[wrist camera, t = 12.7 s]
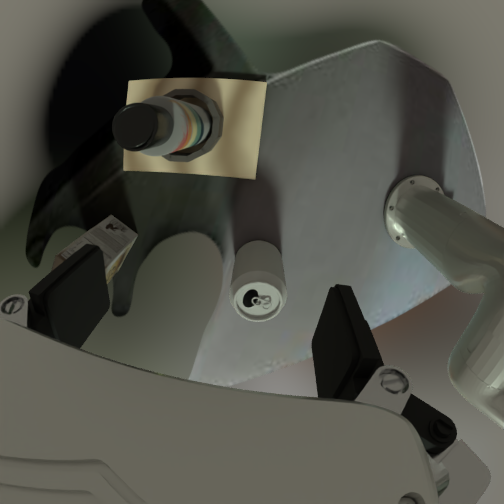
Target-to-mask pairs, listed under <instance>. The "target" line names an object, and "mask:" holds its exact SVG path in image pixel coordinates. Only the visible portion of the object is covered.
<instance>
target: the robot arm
mask: <svg viewBox="0 0 504 504" xmlns="http://www.w3.org/2000/svg"><path fill="white" fill-rule="evenodd" d="M410 181H411V182H410ZM389 207H390V208H389ZM384 222H385V227H386V230H387V232H388V234H389V235H390V237H391V238H392V239H393V240H394V241H395V242H396V243H397V244H399V245H400V246H402V247H405V248H416V249H417V250H418V251H419V252H420V253H421V254H422V255H423V256H424V257H425V258H426V259H427V260H428V261H429V262H430V263H431V264H432V265H433V266H434V267H435V268H436V269H437V270H438V271H439V272H440V273H441V274H442V275H443V276H444V277H445V278H446V279H447V280H448V281H449V282H450V283H451V284H452V285H453V286H454V287H455V288H457V289H458V290H460V291H462V292H465V293H469V294H470V293H471V294H478V293H484V296H483V298H482V300H481V302H480V304H479V306H478V309H477V311H476V313H475V314H474V316H473V318H472V320H471V321H470V323H469V325H468V326H467V328H466V329H465V331H464V333H463V334H462V336H461V338H460V339H459V341H458V342H457V344H456V346H455V347H454V349H453V351H452V353H451V355H450V357H449V360H448V375H449V378H450V380H451V382H452V384H453V386H454V387H455V388H456V390H457V391H458V392H459V393H460V394H461V395H462V396H463V397H464V398H465V399H466V400H467V401H468V402H469V403H471V404H472V405H473V406H474V407H476V408H477V409H478V410H480V411H481V412H482V413H483V414H485V415H486V416H487V417H488V418H490V419H491V420H492V421H493V422H495V423H496V424H497V425H498V426H500V427H501V428H502V429H503V430H504V228H503V227H501V226H499V225H498V224H496V223H494V222H492V221H491V220H489V219H487V218H486V217H484V216H482V215H480V214H478V213H477V212H475V211H473V210H471V209H469V208H468V207H466V206H464V205H462V204H460V203H458V202H457V201H455V200H453V199H451V198H449V197H447V196H445V195H444V192H443V191H442V189H441V187H440V186H439V185H438V183H437V182H435V181H434V180H433V179H431V178H429V177H426V176H423V175H413V176H409V177H407V178H405V179H403V180H402V181H400V182H399V183H398V184H397V185H396V186H395V187H394V188H393V190H392V191H391V193H390V194H389V196H388V199H387V201H386V205H385V210H384ZM29 294H30V298H31V299H30V300H29V301H28V299H27V298H26V297H25V296H23V295H20V294H16V295H12V296H9V297H7V298H5V299H4V300H2V301H1V303H0V504H476V503H477V501H478V500H479V499H480V497H481V496H482V495H483V493H484V492H485V490H486V489H487V487H488V485H489V483H490V479H491V475H490V471H489V469H488V468H487V466H486V465H485V464H484V463H483V462H482V461H481V460H480V458H479V457H478V456H477V455H476V454H475V453H474V452H473V451H472V450H471V449H470V448H469V447H468V446H467V444H466V443H465V442H463V440H462V439H461V440H460V441H458V440H457V439H456V436H457V430H456V427H455V424H454V423H453V421H452V420H451V419H450V418H449V417H447V416H446V415H444V414H442V413H441V412H439V411H438V410H436V409H435V408H433V407H431V406H430V405H428V404H427V403H425V402H424V401H422V400H420V399H419V398H417V397H416V396H414V395H413V394H411V392H412V388H413V384H412V380H411V378H410V376H409V375H408V374H407V373H406V372H405V371H403V370H402V369H401V368H398V367H396V366H391V365H385V366H384V363H383V361H382V358H381V355H380V353H379V350H378V347H377V345H376V342H375V340H374V337H373V335H372V332H371V330H370V327H369V325H368V323H367V321H366V320H365V319H364V317H363V314H362V312H361V309H360V307H359V304H358V302H357V300H356V297H355V295H354V293H353V290H352V288H351V286H347V285H340V284H336V285H335V287H331V288H330V289H329V292H328V295H327V298H326V301H325V304H324V307H323V310H322V313H321V316H320V319H319V322H318V325H317V328H316V330H315V333H314V336H313V339H312V353H313V360H314V368H315V376H316V384H317V392H318V398H317V397H305V396H292V395H282V394H274V393H265V392H257V391H249V390H242V389H235V388H229V387H223V386H217V385H212V384H207V383H202V382H197V381H192V380H187V379H182V378H178V377H174V376H169V375H165V374H161V373H157V372H153V371H149V370H146V369H142V368H138V367H135V366H131V365H127V364H125V363H121V362H118V361H115V360H111V359H108V358H105V357H102V356H99V355H96V354H93V353H90V352H88V351H85V350H82V349H80V347H81V346H82V345H83V343H84V342H85V341H86V339H87V338H88V336H89V335H90V334H91V332H92V331H93V330H94V328H95V327H96V326H97V324H98V323H99V321H100V320H101V319H102V317H103V316H104V315H105V314H106V312H107V311H108V309H109V306H110V300H109V294H108V287H107V280H106V273H105V265H104V256H103V251H102V250H101V249H100V247H99V246H98V245H92V244H85V245H84V246H83V247H81V248H80V249H79V250H77V251H76V252H75V253H74V254H72V255H71V256H70V257H69V258H67V259H66V260H65V261H64V262H62V263H61V264H60V265H59V266H58V267H56V268H55V269H54V270H53V271H52V272H50V273H49V274H48V275H47V276H46V277H45V278H43V279H42V280H41V281H40V282H39V283H38V284H37V285H35V286H34V287H33V288H32V289H31V290H30V291H29Z"/></svg>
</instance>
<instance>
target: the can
mask: <svg viewBox="0 0 504 504" xmlns="http://www.w3.org/2000/svg"><path fill="white" fill-rule="evenodd" d="M229 298H230V302H231V304H232V305H233V307H234V309H235V310H236V311H237V313H238V314H239V315H240V316H242V317H243V318H245V319H247V320H249V321H255V322H261V321H267V320H269V319H272V318H273V317H275V316H276V315H277V314H278V313H279V312H280V310H281V309H282V308H283V306H284V305H285V303H286V299H287V289H286V282H285V275H284V269H283V262H282V256H281V254H280V252H279V250H278V249H277V248H276V247H275V246H274V245H272V244H270V243H268V242H265V241H260V240H258V241H251V242H249V243H247V244H244V245H243V246H242V247H241V248H240V249H239V250H238V252H237V254H236V257H235V263H234V268H233V274H232V280H231V286H230V292H229Z"/></svg>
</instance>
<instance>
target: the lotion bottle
mask: <svg viewBox="0 0 504 504" xmlns="http://www.w3.org/2000/svg"><path fill="white" fill-rule="evenodd" d="M212 126H213V122H212V118H211V116H210V114H209V113H208V112H207V111H206V110H205V109H203V108H202V107H199V106H196V105H193V104H190V103H187V102H184V101H181V100H177V99H174V98H170V97H166V96H154V97H150V98H147V99H145V100H144V101H142V102H141V103H131V104H128V105H126V106H124V107H123V108H121V109H120V110H119V111H118V113H117V114H116V115H115V117H114V120H113V124H112V130H113V135H114V138H115V140H116V141H117V143H118V144H119V145H120V146H121V147H122V148H124V149H126V150H128V151H132V152H137V151H139V152H141V153H143V154H145V155H148V156H162V155H166V154H169V153H173V152H176V151H179V150H182V149H185V148H188V147H191V146H195V145H197V144H200V143H202V142H203V141H205V140H206V139H207V138H208V137H209V135H210V133H211V131H212Z"/></svg>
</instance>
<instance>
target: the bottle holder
mask: <svg viewBox="0 0 504 504" xmlns="http://www.w3.org/2000/svg"><path fill="white" fill-rule="evenodd" d="M266 86H267V82H258V81H248V80H236V79H218V78H162V79H146V80H133V81H129V85H128V95H127V105H128V104H131V103H141V102H142V101H144V100H145V99H147V98H150V97H154V96H166V97H170V98H174V99H177V100H181V101H184V102H187V103H190V104H193V105H196V106H199V107H202V108H203V109H205V110H206V111H207V112H208V113H209V114H210V116H211V118H212V122H213V126H212V131H211V133H210V135H209V137H208V138H207V139H206V140H205V141H203V142H202V143H200V144H197V145H195V146H191V147H188V148H185V149H182V150H179V151H176V152H173V153H169V154H166V155H162V156H148V155H145V154H143V153H141V152H139V151H137V152H132V151H128V150H126V149H124V171H153V172H173V173H189V174H203V175H215V176H226V177H237V178H246V179H255V178H256V169H257V161H258V152H259V144H260V135H261V127H262V119H263V110H264V102H265V94H266Z"/></svg>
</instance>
